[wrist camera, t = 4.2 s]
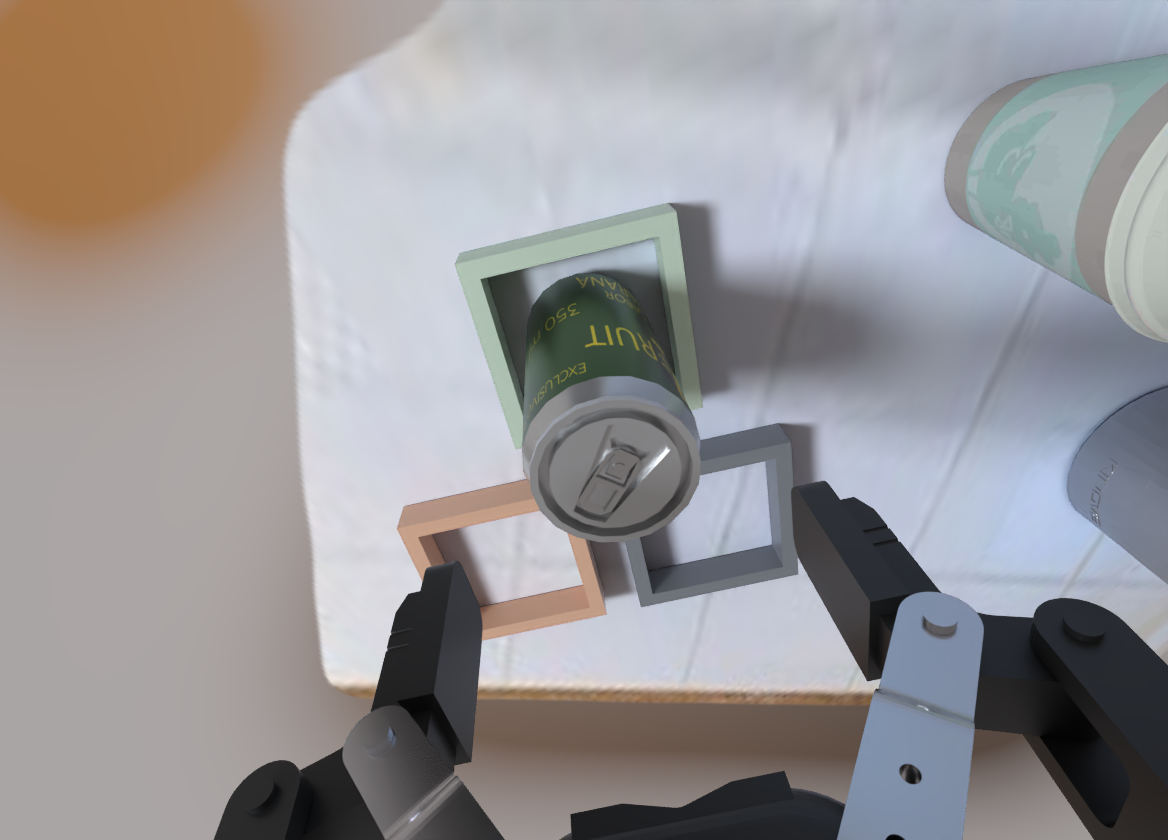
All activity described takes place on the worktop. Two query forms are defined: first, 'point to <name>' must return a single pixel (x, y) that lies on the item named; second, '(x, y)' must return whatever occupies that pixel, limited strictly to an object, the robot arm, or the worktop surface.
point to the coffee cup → (1077, 180)
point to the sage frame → (566, 245)
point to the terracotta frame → (489, 507)
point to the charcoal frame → (741, 565)
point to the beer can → (603, 415)
